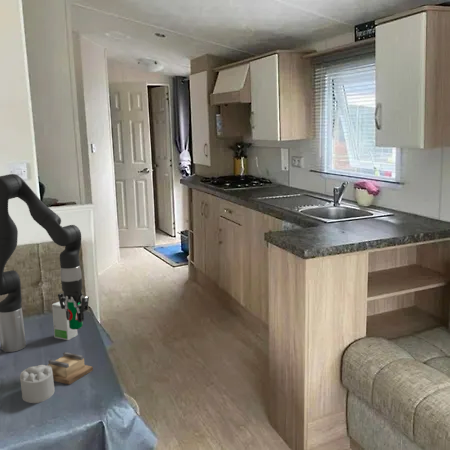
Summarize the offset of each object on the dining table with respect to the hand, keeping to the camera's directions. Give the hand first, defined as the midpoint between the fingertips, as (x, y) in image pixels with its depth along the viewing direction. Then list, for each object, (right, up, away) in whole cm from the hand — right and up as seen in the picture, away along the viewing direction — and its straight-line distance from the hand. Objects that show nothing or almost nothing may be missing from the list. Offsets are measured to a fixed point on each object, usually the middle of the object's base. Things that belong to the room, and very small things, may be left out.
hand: (75, 320), depth 191 cm
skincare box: (-13, -13, +30) cm, 35 cm away
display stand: (-1, -19, -7) cm, 20 cm away
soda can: (0, -3, +1) cm, 3 cm away
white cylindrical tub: (-6, -21, -21) cm, 31 cm away
